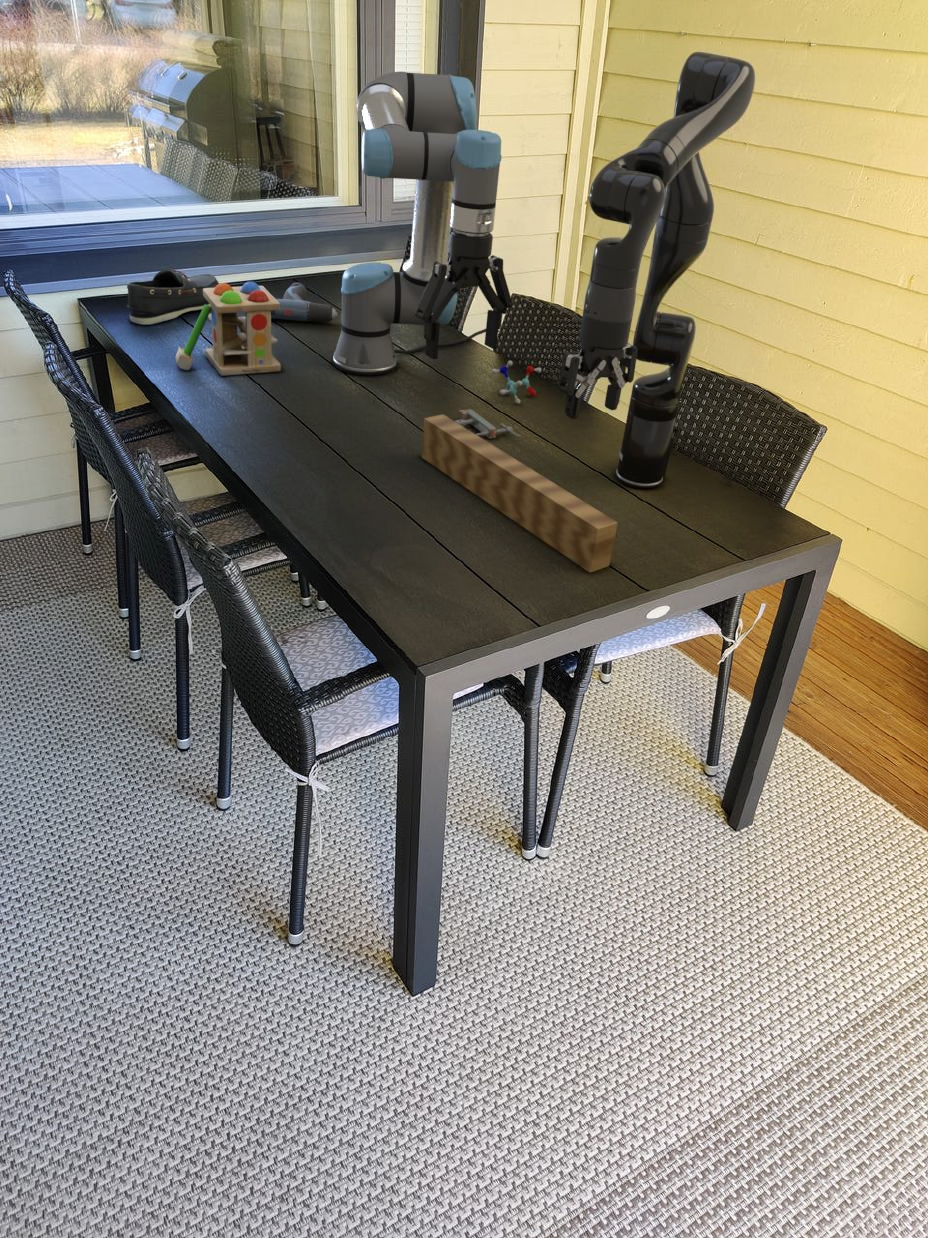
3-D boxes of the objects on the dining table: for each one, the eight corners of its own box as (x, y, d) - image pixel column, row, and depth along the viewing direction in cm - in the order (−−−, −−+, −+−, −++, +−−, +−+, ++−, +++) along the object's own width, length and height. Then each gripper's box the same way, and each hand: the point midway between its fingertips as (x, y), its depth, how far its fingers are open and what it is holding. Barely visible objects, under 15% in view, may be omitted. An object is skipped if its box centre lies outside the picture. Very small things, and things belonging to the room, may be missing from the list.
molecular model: (537, 396, 220) (523, 352, 219) (499, 410, 224) (485, 367, 222) (549, 394, 231) (536, 353, 229) (513, 408, 234) (500, 367, 233)
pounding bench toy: (183, 379, 220) (176, 299, 210) (169, 357, 231) (162, 280, 221) (282, 371, 230) (280, 294, 220) (264, 350, 240) (262, 276, 230)
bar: (421, 457, 198) (424, 417, 193) (440, 453, 200) (443, 414, 195) (589, 573, 166) (597, 528, 161) (609, 566, 168) (618, 522, 163)
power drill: (344, 304, 276) (335, 327, 259) (277, 298, 275) (264, 321, 258) (344, 285, 273) (335, 306, 256) (277, 279, 272) (264, 300, 255)
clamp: (446, 411, 212) (486, 405, 217) (446, 420, 214) (485, 415, 218) (482, 439, 202) (522, 432, 206) (481, 448, 203) (521, 442, 208)
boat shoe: (239, 303, 270) (236, 264, 265) (147, 326, 246) (142, 284, 241) (205, 294, 276) (202, 256, 270) (112, 317, 252) (106, 275, 247)
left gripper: (424, 241, 160) (417, 368, 172) (540, 231, 173) (526, 348, 185) (399, 230, 164) (393, 354, 176) (513, 221, 178) (501, 336, 190)
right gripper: (590, 325, 142) (574, 429, 151) (658, 313, 150) (639, 413, 159) (556, 310, 147) (542, 412, 156) (624, 299, 155) (607, 397, 164)
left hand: (461, 351), depth 181 cm, fingers open, 13 cm apart
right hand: (591, 412), depth 158 cm, fingers open, 8 cm apart
